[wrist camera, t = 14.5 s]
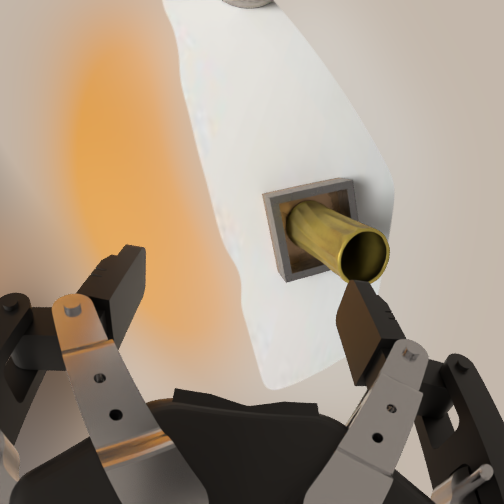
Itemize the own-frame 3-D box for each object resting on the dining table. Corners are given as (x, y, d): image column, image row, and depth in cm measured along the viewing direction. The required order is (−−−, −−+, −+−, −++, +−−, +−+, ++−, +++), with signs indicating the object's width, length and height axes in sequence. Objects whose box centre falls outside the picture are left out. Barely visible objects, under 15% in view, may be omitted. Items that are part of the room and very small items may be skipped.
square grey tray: (262, 194, 38) (269, 197, 35) (338, 177, 39) (352, 179, 36) (277, 271, 41) (286, 282, 38) (348, 251, 42) (362, 260, 39)
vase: (333, 200, 39) (398, 222, 26) (330, 247, 41) (389, 289, 27) (286, 199, 38) (335, 222, 25) (284, 249, 40) (329, 294, 26)
